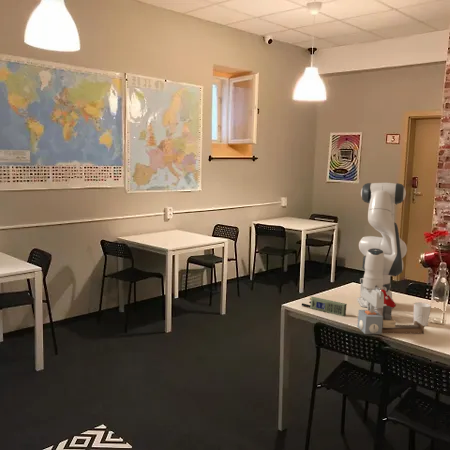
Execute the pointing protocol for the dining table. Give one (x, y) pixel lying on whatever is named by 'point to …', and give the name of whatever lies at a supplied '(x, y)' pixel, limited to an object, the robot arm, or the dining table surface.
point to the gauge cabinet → (370, 322)
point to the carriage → (388, 318)
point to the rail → (405, 329)
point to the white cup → (421, 313)
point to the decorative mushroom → (386, 302)
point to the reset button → (370, 313)
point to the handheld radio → (327, 306)
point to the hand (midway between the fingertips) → (370, 311)
